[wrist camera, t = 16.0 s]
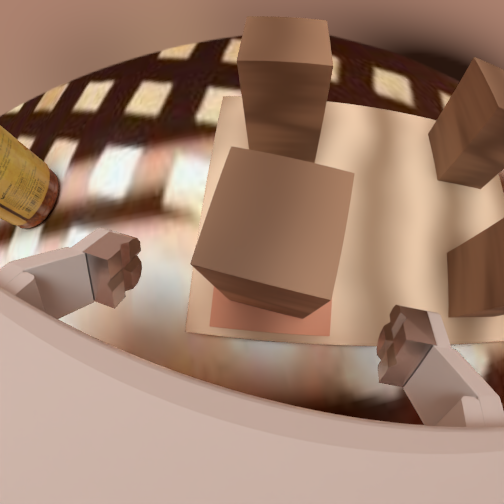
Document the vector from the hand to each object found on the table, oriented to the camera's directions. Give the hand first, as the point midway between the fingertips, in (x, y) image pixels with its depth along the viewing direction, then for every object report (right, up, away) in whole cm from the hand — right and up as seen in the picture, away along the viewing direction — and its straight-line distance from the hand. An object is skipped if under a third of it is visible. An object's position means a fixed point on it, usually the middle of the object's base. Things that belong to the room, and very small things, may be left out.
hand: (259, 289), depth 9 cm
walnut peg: (+1, 0, +9) cm, 9 cm away
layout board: (+9, +4, +12) cm, 15 cm away
